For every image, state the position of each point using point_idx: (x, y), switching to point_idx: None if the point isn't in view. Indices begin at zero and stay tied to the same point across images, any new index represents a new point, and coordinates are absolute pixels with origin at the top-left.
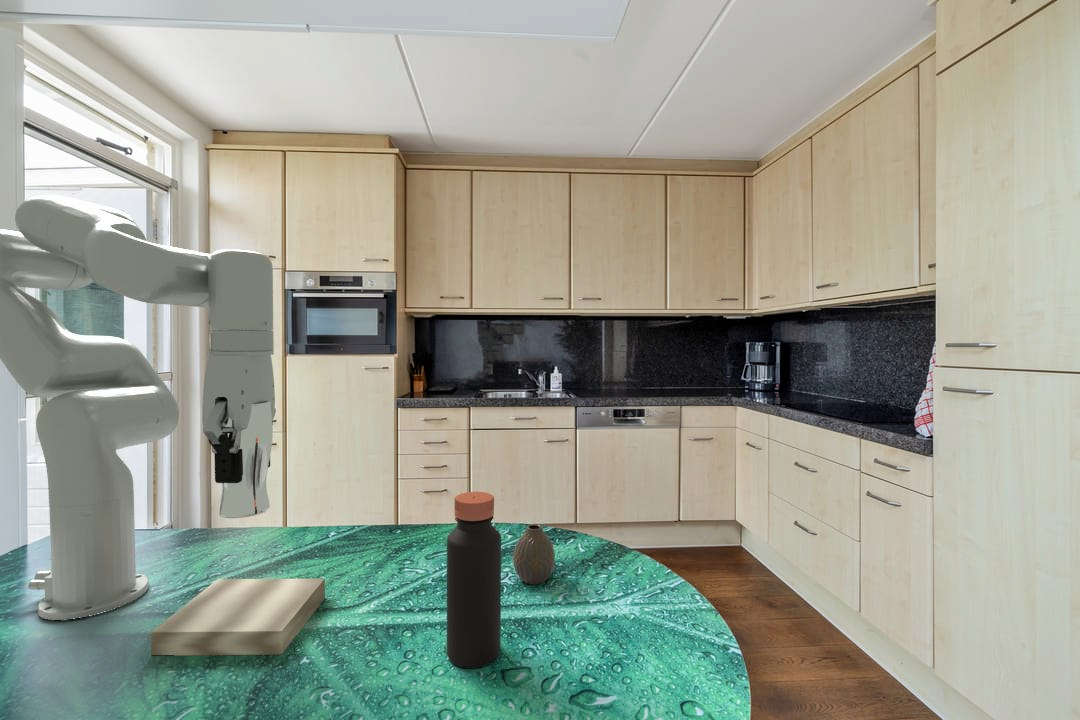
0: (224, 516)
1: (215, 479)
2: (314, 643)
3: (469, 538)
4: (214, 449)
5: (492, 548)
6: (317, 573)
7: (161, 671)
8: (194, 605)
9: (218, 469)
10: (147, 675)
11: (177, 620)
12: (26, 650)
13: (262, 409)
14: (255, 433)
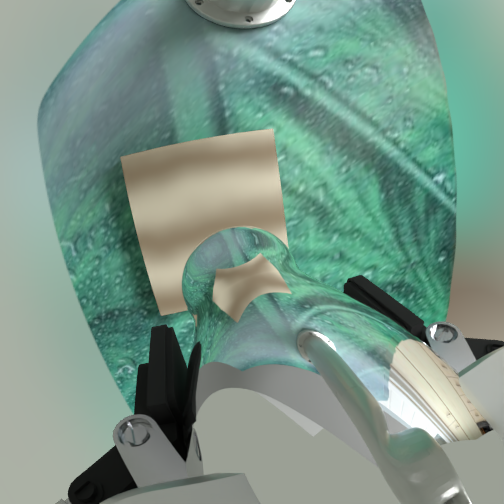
0: (182, 276)
1: (151, 332)
2: (188, 321)
3: None
4: (120, 440)
5: None
6: (343, 224)
7: (104, 196)
8: (192, 155)
9: (138, 381)
10: (96, 187)
11: (151, 166)
12: (123, 12)
13: None
14: None
